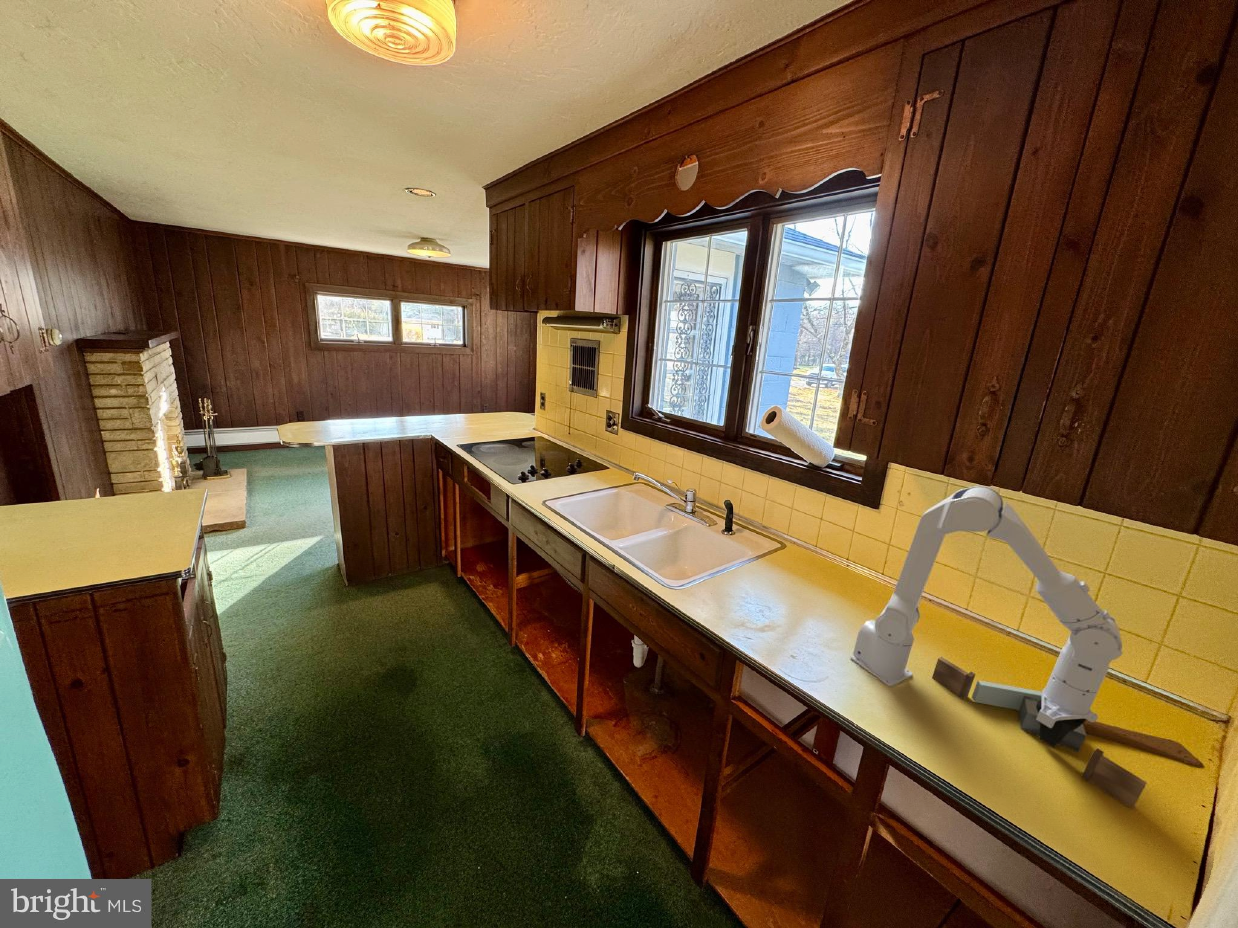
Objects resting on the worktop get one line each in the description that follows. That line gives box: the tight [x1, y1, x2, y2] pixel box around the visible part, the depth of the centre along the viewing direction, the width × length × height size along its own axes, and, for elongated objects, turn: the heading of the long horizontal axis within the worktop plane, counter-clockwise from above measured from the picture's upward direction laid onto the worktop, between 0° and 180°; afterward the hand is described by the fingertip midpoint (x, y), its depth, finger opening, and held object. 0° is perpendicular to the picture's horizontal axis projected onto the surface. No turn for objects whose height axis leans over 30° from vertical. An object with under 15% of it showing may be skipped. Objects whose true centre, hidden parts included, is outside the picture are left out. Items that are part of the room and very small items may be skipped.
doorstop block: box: [1017, 696, 1087, 753], centre depth 85 cm, size 8×5×4 cm, turn 55°
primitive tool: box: [1083, 720, 1205, 769], centre depth 84 cm, size 19×6×4 cm, turn 76°
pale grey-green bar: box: [971, 680, 1042, 711], centre depth 90 cm, size 14×2×4 cm, turn 78°
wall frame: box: [931, 656, 1148, 810], centre depth 84 cm, size 30×2×6 cm, turn 28°
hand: (1048, 741), depth 82 cm, fingers closed
